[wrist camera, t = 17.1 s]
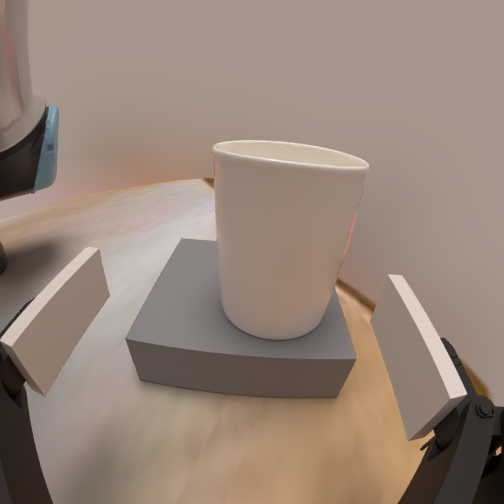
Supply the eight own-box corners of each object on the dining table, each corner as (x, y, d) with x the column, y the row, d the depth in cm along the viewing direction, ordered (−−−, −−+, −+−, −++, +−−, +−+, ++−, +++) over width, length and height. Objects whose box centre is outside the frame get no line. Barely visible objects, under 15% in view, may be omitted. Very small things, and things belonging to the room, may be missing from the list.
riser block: (140, 379, 20) (125, 338, 17) (183, 275, 34) (181, 238, 31) (336, 397, 20) (356, 358, 17) (313, 285, 34) (321, 249, 31)
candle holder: (352, 304, 23) (388, 164, 17) (282, 373, 16) (321, 174, 10) (266, 260, 28) (278, 139, 23) (186, 300, 22) (180, 144, 16)
